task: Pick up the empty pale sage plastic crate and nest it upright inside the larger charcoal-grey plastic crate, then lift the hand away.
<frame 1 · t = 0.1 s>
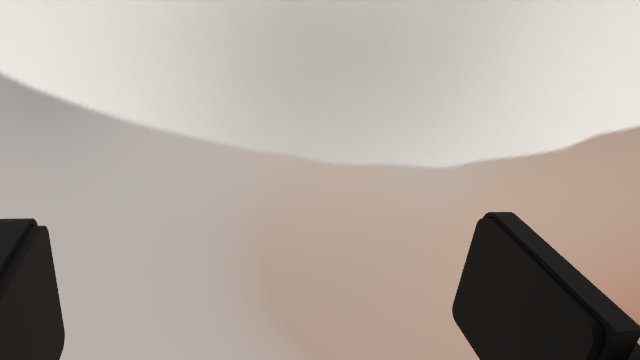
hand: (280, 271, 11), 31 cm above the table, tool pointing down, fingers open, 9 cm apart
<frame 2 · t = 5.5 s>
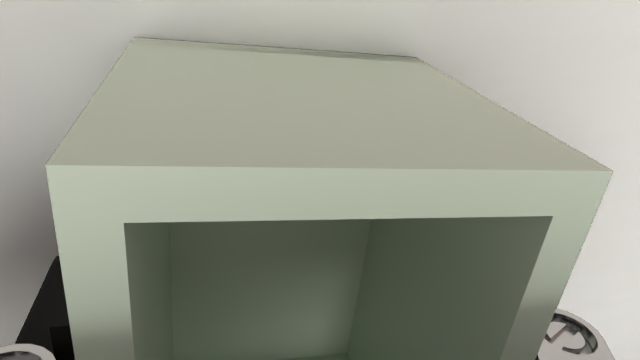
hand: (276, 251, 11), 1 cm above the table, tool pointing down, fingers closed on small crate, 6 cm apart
small crate: (270, 228, 12), on the table, touching gripper
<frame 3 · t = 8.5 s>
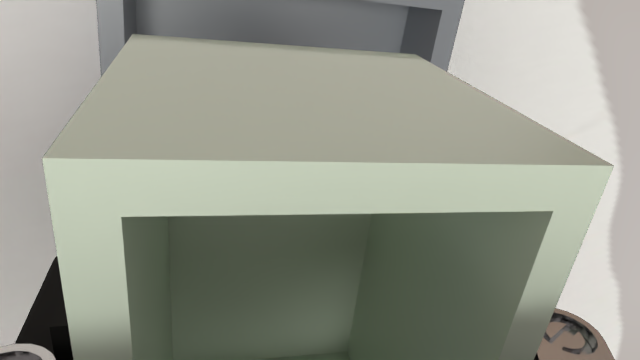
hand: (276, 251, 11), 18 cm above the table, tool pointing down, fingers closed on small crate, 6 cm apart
small crate: (270, 226, 12), point 17 cm above the table, touching gripper
big crate: (267, 118, 28), on the table
when the fingers open (4 cm above the table, at t = 11.9 s): small crate drops 2 cm, resting on big crate.
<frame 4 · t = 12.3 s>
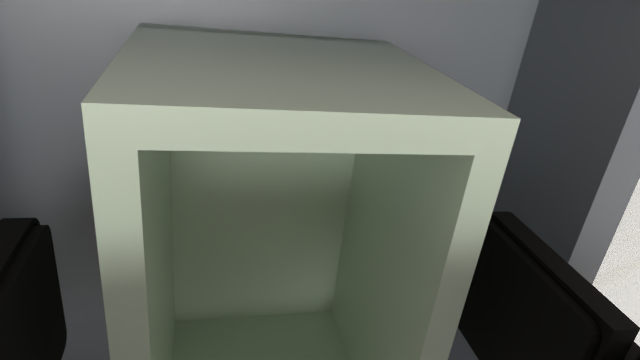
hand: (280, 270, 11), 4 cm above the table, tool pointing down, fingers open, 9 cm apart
small crate: (261, 195, 14), point 1 cm above the table, touching big crate
big crate: (259, 180, 14), on the table
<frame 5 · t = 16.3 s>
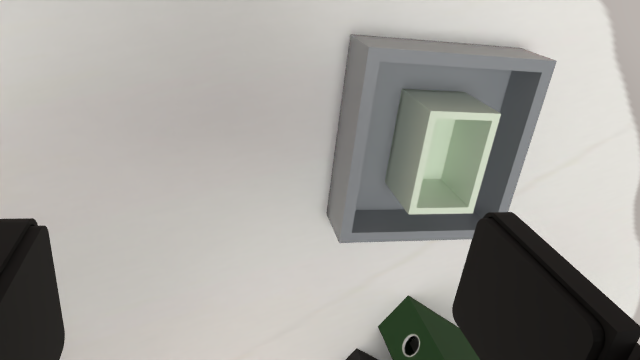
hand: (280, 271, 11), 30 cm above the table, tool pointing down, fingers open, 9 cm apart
small crate: (423, 138, 44), point 1 cm above the table, touching big crate
big crate: (419, 134, 45), on the table
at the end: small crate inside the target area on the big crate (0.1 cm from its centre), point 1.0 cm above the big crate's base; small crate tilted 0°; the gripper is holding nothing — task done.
